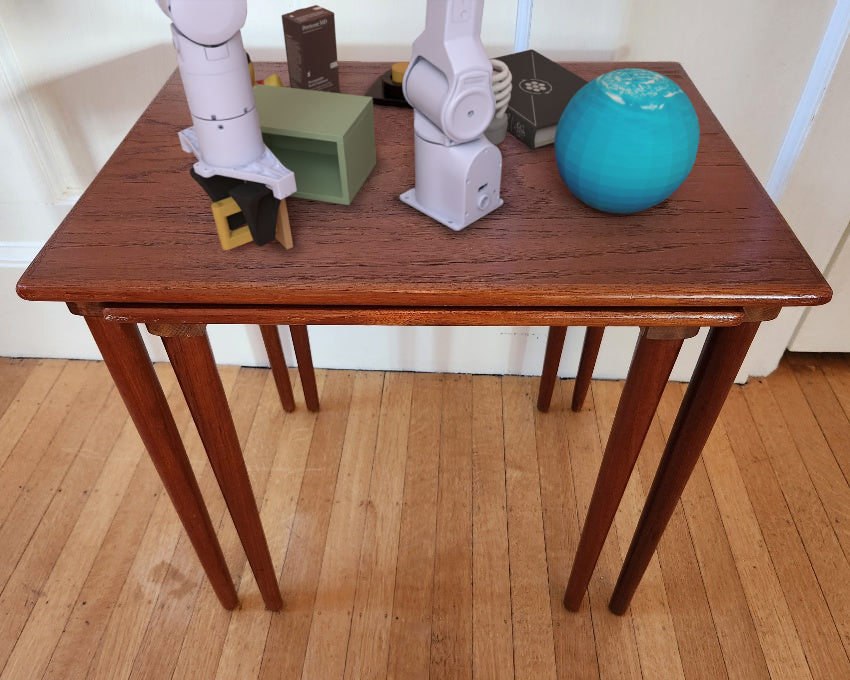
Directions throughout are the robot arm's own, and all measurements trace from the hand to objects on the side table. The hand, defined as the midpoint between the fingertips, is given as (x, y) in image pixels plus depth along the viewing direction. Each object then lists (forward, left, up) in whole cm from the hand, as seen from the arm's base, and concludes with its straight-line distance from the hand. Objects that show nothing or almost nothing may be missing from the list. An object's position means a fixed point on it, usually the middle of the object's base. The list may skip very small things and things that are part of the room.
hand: (251, 233), depth 70 cm
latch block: (+17, -38, -3) cm, 42 cm away
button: (+17, -38, -1) cm, 42 cm away
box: (+25, -28, -3) cm, 38 cm away
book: (+2, -48, -3) cm, 48 cm away
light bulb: (-3, -33, -3) cm, 33 cm away
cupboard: (+9, -14, -3) cm, 17 cm away
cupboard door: (+6, -1, -3) cm, 7 cm away
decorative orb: (-21, -35, -3) cm, 41 cm away
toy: (+27, -18, -3) cm, 33 cm away
